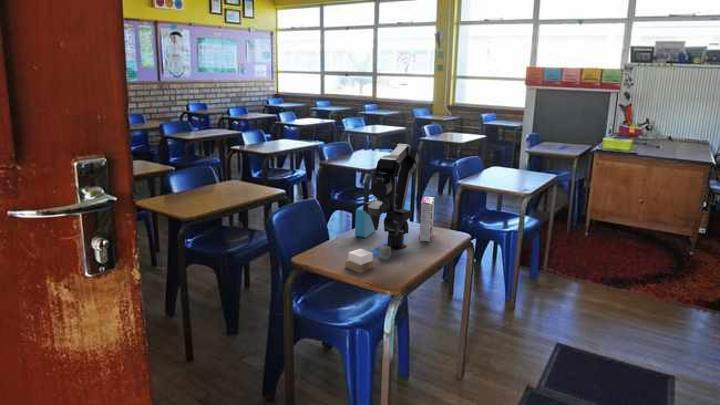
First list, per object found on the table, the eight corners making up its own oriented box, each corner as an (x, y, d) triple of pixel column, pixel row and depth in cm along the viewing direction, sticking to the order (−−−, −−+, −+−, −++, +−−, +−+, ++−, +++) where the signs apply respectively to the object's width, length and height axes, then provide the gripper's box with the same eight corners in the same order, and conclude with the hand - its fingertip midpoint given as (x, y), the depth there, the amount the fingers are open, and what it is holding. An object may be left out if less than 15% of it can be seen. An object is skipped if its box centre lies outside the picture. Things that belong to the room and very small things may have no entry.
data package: (366, 229, 232) (367, 202, 229) (375, 230, 230) (376, 204, 227) (354, 237, 221) (355, 209, 218) (364, 238, 219) (365, 210, 216)
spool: (383, 254, 202) (384, 245, 201) (392, 258, 199) (393, 247, 198) (376, 257, 198) (376, 247, 197) (385, 260, 196) (386, 250, 195)
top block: (359, 256, 192) (360, 248, 191) (372, 260, 188) (372, 252, 187) (348, 260, 188) (348, 252, 187) (360, 265, 184) (361, 256, 183)
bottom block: (358, 263, 193) (358, 255, 193) (373, 268, 189) (373, 260, 188) (345, 268, 188) (345, 260, 187) (360, 274, 184) (360, 266, 183)
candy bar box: (420, 233, 229) (423, 196, 225) (432, 234, 228) (435, 197, 224) (418, 241, 218) (420, 202, 214) (430, 242, 217) (433, 203, 213)
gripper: (353, 190, 192) (352, 232, 196) (394, 200, 180) (392, 244, 185) (373, 186, 200) (371, 225, 204) (413, 195, 189) (411, 237, 193)
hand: (385, 233), depth 196 cm, fingers open, 9 cm apart
